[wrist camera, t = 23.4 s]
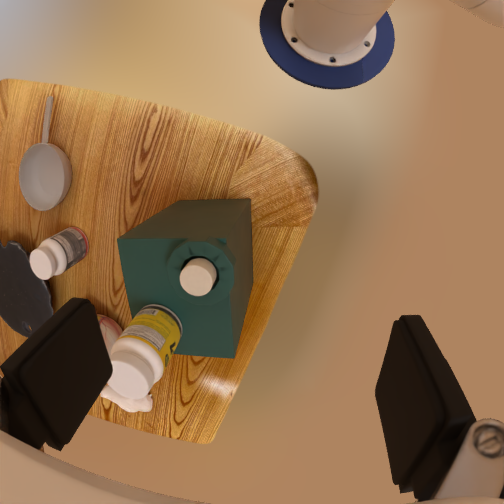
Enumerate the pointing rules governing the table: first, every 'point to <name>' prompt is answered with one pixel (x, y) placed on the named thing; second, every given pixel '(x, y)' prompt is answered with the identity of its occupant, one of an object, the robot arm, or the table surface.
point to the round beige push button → (198, 277)
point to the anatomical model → (109, 331)
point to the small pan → (45, 170)
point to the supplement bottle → (144, 351)
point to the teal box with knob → (177, 257)
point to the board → (22, 291)
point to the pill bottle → (59, 253)
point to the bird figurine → (128, 401)
